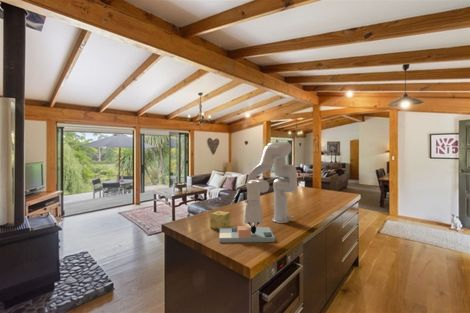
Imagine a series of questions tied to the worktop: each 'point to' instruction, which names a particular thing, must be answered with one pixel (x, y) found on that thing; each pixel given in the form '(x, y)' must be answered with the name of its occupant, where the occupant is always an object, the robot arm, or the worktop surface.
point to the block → (243, 231)
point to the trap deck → (259, 236)
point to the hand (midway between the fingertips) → (253, 232)
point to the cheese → (220, 220)
